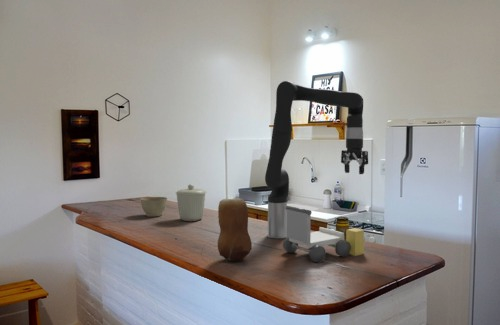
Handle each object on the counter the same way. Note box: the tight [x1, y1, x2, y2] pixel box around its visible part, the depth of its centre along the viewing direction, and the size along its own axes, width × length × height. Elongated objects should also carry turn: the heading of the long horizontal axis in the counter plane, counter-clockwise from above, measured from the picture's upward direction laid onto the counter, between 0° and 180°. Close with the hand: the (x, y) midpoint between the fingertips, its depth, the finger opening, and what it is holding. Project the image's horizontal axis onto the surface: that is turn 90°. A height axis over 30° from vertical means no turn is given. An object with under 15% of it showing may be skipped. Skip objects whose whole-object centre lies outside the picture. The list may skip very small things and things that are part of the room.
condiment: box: [334, 216, 350, 245], centre depth 199 cm, size 7×8×12 cm
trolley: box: [282, 205, 351, 264], centre depth 180 cm, size 21×19×20 cm
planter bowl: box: [140, 196, 168, 218], centre depth 271 cm, size 16×16×11 cm
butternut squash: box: [217, 198, 253, 263], centre depth 172 cm, size 14×13×25 cm
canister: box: [175, 183, 207, 222], centre depth 257 cm, size 18×18×21 cm
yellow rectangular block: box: [346, 227, 365, 257], centre depth 182 cm, size 5×5×10 cm
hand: (354, 173), depth 197 cm, fingers open, 8 cm apart
